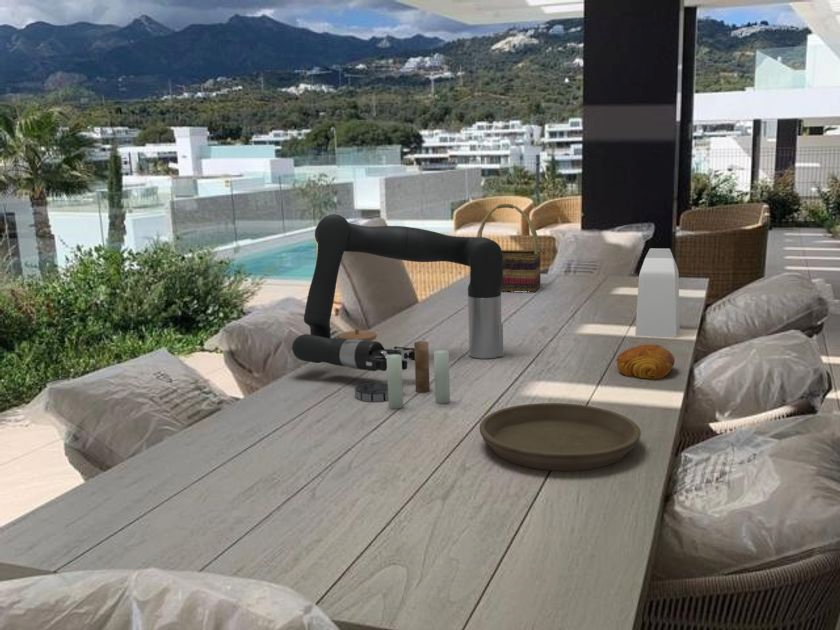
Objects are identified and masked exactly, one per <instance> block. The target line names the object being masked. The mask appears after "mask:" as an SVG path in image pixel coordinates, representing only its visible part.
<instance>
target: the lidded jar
mask: <svg viewBox="0 0 840 630" xmlns="http://www.w3.org/2000/svg"><path fill="white" fill-rule="evenodd" d="M337 338H339V339H349V340H352V339H358V340H367V341H377V333H376V332H375V331H372V330H371V331H370V330H360V328H355V330H350V331H345V332H342V333H339V334H338V336H337Z"/></svg>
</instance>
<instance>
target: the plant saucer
mask: <svg viewBox="0 0 840 630" xmlns="http://www.w3.org/2000/svg"><path fill="white" fill-rule="evenodd" d="M478 428H479V432H480V435H481V437H482V438H483V441H484V443H486V444H487V445H488V446H489V447H490V448H491V450H492V451H493V452H494V453H495V454H496V455H497V456H499V457H500V458H501V459H503V460H506V461H508V462H510V463H512V464H516V465H519V466H522V467H526V468H530V469H536V470H537V469H538V470H545V471H558V472H569V471H571V472H572V471H573V472H574V471H585V470H594V469H599V468H602V467H605V466H609V465H612V464H614V463H616V462H618V461H620V460H622V459H623V458H624V457H625V456H626V454H627V453H629V452H630V451H631V450H632V449H634V448H635V447H636V444H637V443H638V442H639V441H640V438H641V434H642V433H641V429H640V427H639V425H638V424H637V423H636V422H634V421H633V420H632V419H630V418H629V417H626V416H625V415H622V414H620V413H618V412H615V411H611V410H607V409H605V408H600V407H596V406H592V405H591V406H590V405H583V404H577V403H576V404H575V403H561V402H560V403H559V402H541V403H527V404H519V405H513V406H509V407H505V408H501V409H498V410H496V411H494V412H492V413H490V414H488V415H487V416H485V417H484V418H483V419H482V421H481V422H480V424H479V427H478Z"/></svg>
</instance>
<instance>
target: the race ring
mask: <svg viewBox="0 0 840 630" xmlns="http://www.w3.org/2000/svg"><path fill="white" fill-rule="evenodd" d="M354 396H355V397H354V398H355V399H357V400H359V401H362V402H371V403H372V402H373V403H377V402H378V403H379V402H387V401H388V381H386V380H385V381H381V380H380V381H369V382H365V383H362V384H359V385H356V386H355V387H354Z"/></svg>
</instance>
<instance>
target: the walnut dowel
mask: <svg viewBox="0 0 840 630" xmlns="http://www.w3.org/2000/svg"><path fill="white" fill-rule="evenodd" d="M413 344H414V347H413V348H414V350H415V361H414V371H415V373H414V375H415V376H414V377H415V378H414V379H415V391H416V392H417V393H427V392H428V393H429V392H430V388H431V387H430V360H429V359H430V355H429V354H430V353H429V352H430V351H429V342H428V341H425V340H420V341H415V342H413Z"/></svg>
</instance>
